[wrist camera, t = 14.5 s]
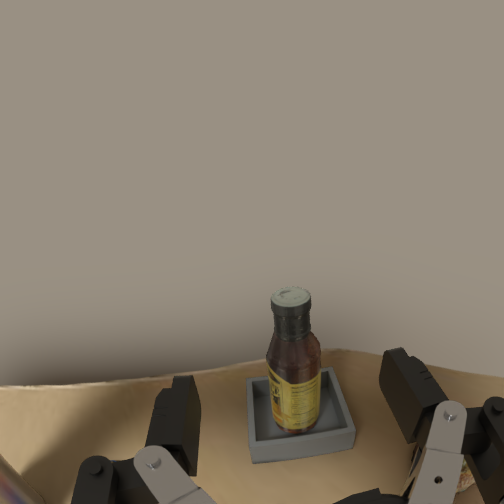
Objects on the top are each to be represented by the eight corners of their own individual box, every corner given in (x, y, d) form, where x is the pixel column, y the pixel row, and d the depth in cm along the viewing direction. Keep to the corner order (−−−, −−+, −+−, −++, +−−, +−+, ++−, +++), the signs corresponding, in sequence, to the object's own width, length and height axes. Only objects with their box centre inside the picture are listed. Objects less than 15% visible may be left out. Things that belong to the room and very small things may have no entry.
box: (252, 463, 33) (249, 447, 32) (249, 396, 45) (245, 378, 44) (352, 448, 33) (356, 430, 32) (331, 385, 45) (332, 366, 44)
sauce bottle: (274, 404, 42) (261, 280, 36) (318, 402, 41) (318, 277, 35) (271, 439, 36) (255, 310, 30) (320, 437, 35) (323, 306, 29)
